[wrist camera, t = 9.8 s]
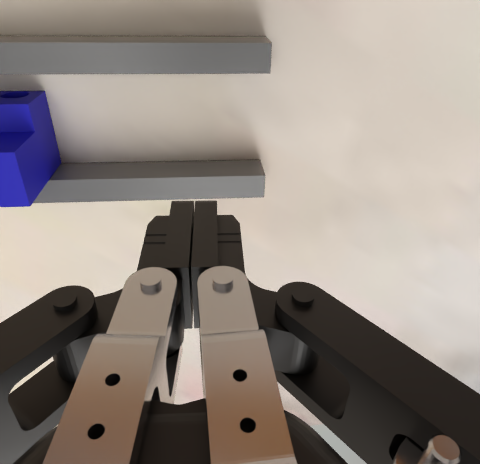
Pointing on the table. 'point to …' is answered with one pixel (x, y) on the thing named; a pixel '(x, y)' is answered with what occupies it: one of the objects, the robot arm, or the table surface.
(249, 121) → the table surface
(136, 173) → the grey u-shaped bracket
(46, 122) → the blue u-shaped block
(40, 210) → the table surface
